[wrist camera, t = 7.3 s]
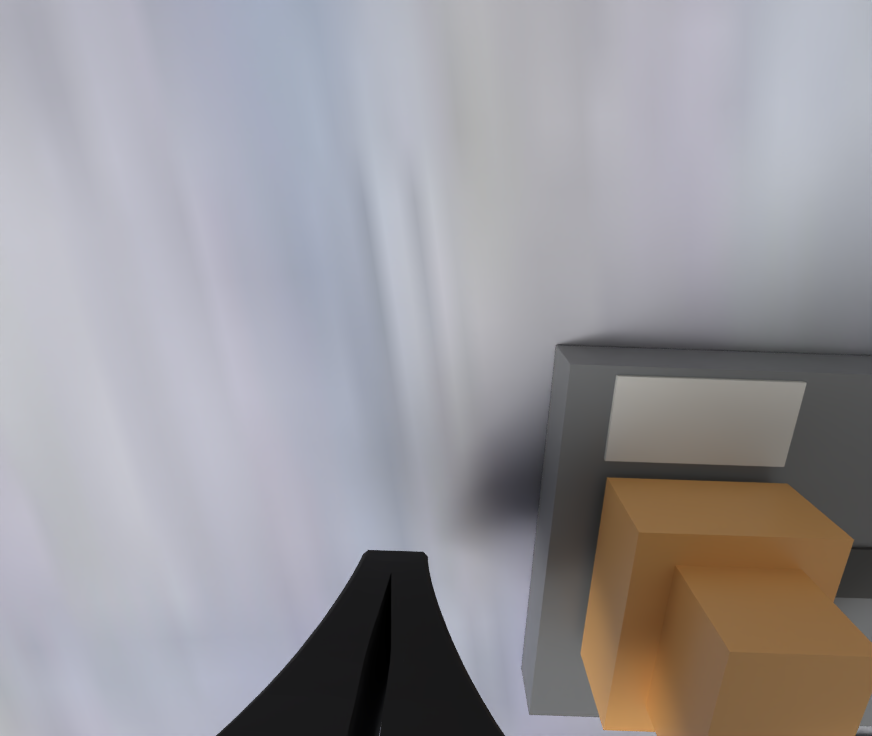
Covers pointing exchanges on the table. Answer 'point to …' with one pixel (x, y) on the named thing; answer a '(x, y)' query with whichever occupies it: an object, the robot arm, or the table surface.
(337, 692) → the robot arm
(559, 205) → the table surface
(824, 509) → the breaker panel
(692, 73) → the table surface
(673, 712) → the breaker toggle
